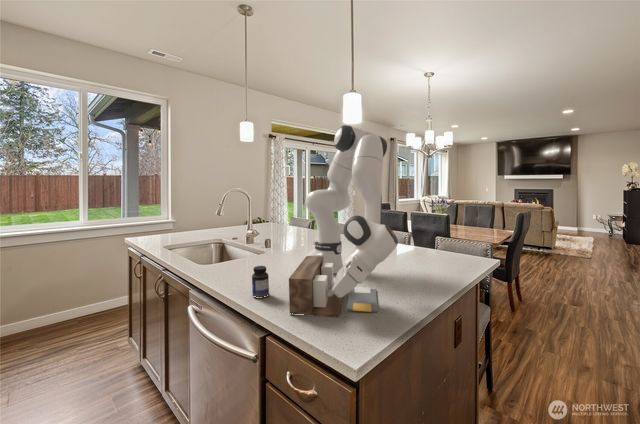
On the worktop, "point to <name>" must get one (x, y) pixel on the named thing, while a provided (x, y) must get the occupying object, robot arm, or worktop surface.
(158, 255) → the worktop surface
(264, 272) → the pill bottle
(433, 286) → the worktop surface
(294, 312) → the key panel
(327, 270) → the inner key
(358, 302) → the card
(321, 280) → the outer key
